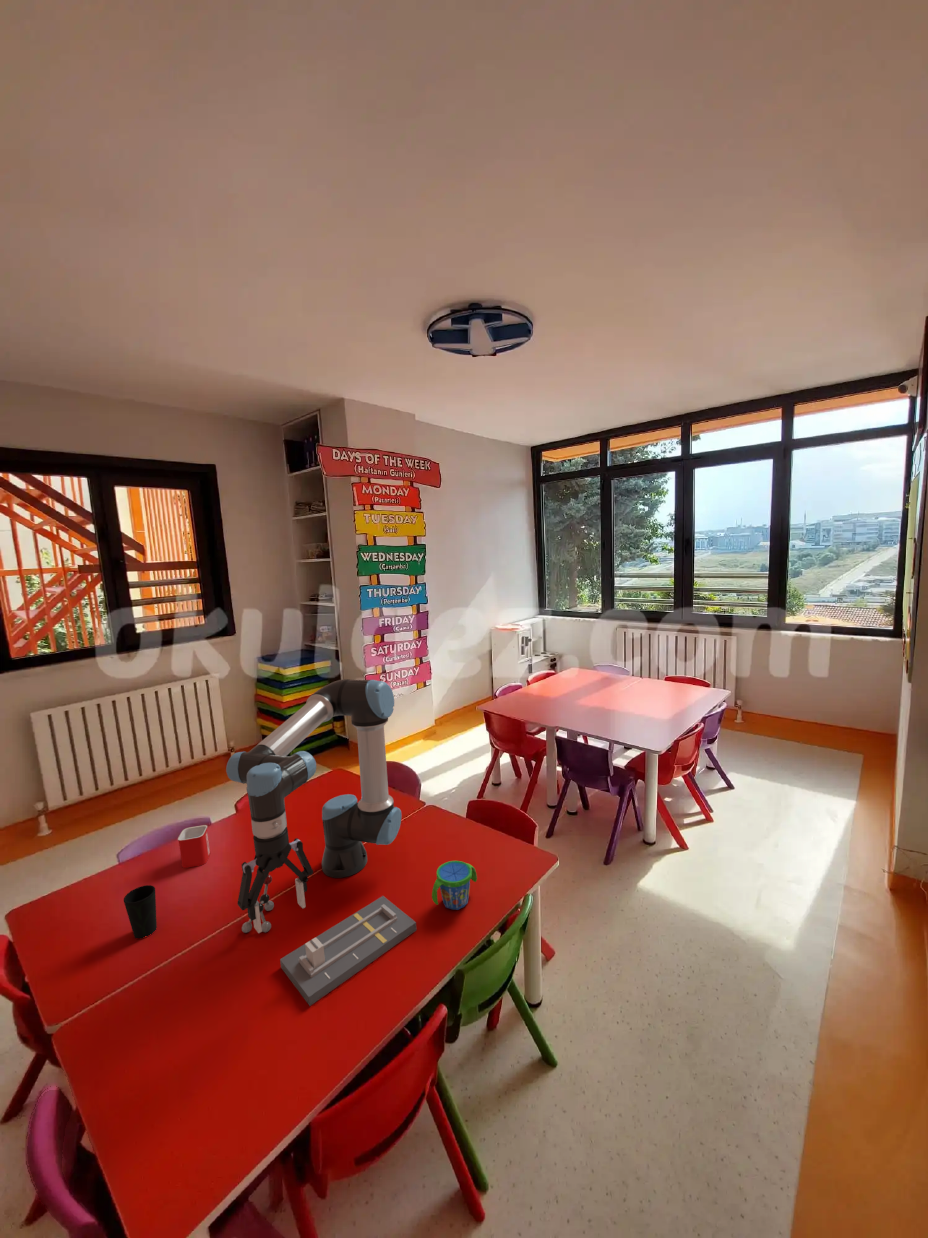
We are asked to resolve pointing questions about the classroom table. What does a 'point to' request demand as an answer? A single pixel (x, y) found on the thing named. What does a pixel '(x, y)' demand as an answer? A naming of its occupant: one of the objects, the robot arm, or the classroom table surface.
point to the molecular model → (268, 906)
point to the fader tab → (315, 953)
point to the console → (348, 948)
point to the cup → (142, 910)
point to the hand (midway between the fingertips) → (280, 917)
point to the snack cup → (454, 883)
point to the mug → (194, 846)
